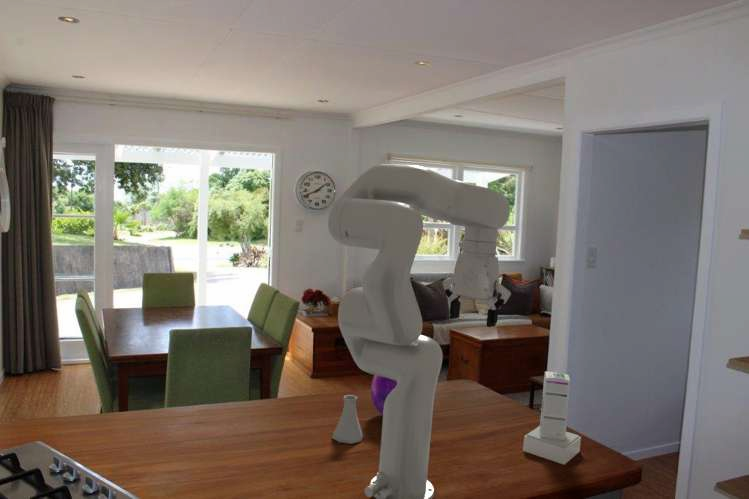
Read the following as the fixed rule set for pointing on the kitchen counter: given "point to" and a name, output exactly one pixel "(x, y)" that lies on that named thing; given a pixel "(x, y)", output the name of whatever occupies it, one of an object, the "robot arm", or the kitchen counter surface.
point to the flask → (348, 423)
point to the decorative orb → (381, 391)
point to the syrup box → (554, 405)
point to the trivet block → (552, 446)
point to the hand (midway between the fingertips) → (472, 322)
